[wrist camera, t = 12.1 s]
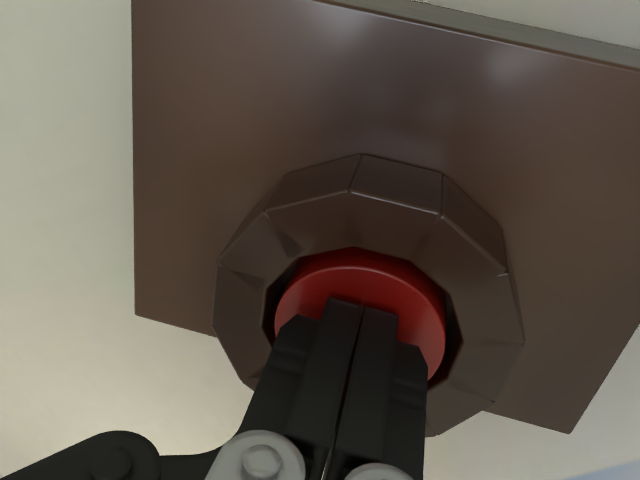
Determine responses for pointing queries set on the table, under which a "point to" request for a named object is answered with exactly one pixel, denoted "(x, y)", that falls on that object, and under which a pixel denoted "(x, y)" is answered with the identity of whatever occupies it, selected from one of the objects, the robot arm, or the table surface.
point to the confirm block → (393, 183)
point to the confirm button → (370, 295)
